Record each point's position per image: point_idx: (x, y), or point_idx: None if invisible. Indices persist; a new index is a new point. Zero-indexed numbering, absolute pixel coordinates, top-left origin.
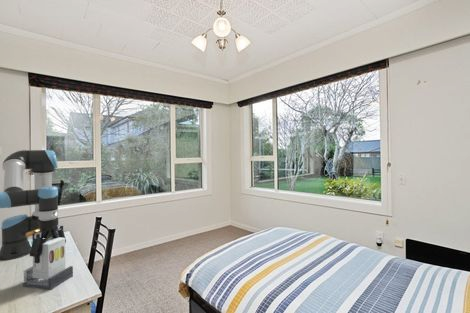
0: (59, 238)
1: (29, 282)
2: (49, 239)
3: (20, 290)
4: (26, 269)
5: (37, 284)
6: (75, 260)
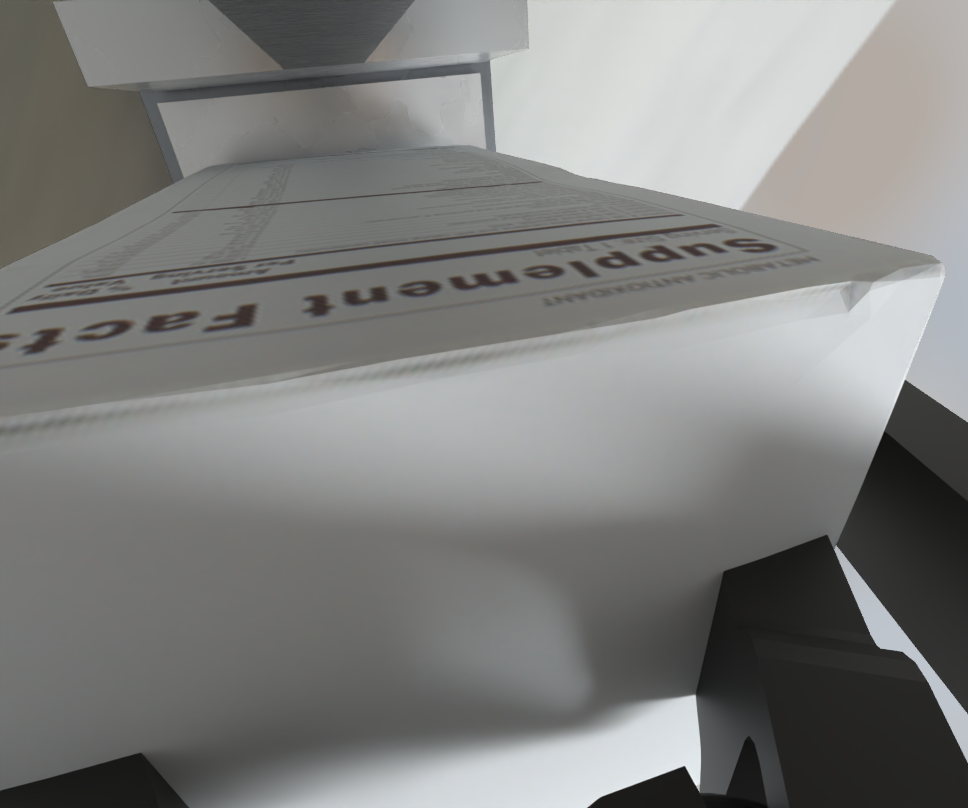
0: (682, 754)
1: (174, 143)
2: (546, 660)
3: (76, 121)
4: (118, 3)
5: None
6: (802, 63)
